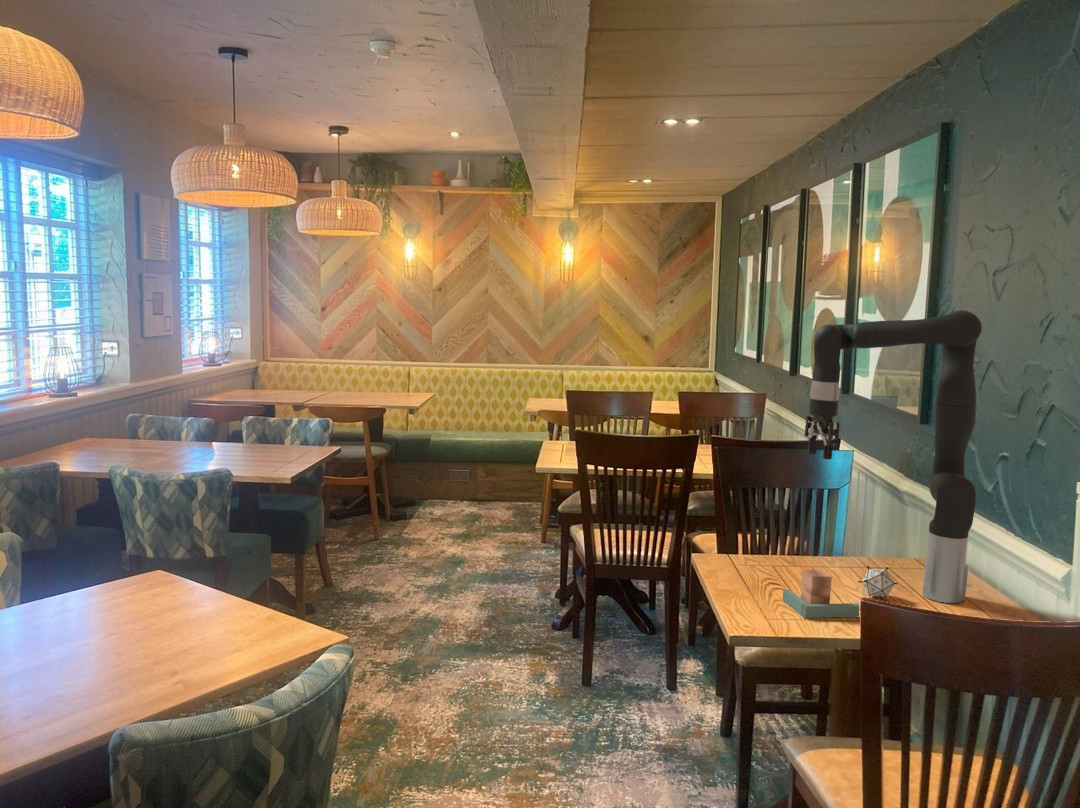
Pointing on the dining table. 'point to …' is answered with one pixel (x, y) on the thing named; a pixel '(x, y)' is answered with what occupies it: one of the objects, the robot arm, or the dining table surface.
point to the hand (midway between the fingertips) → (819, 456)
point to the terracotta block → (816, 587)
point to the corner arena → (819, 607)
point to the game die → (877, 582)
